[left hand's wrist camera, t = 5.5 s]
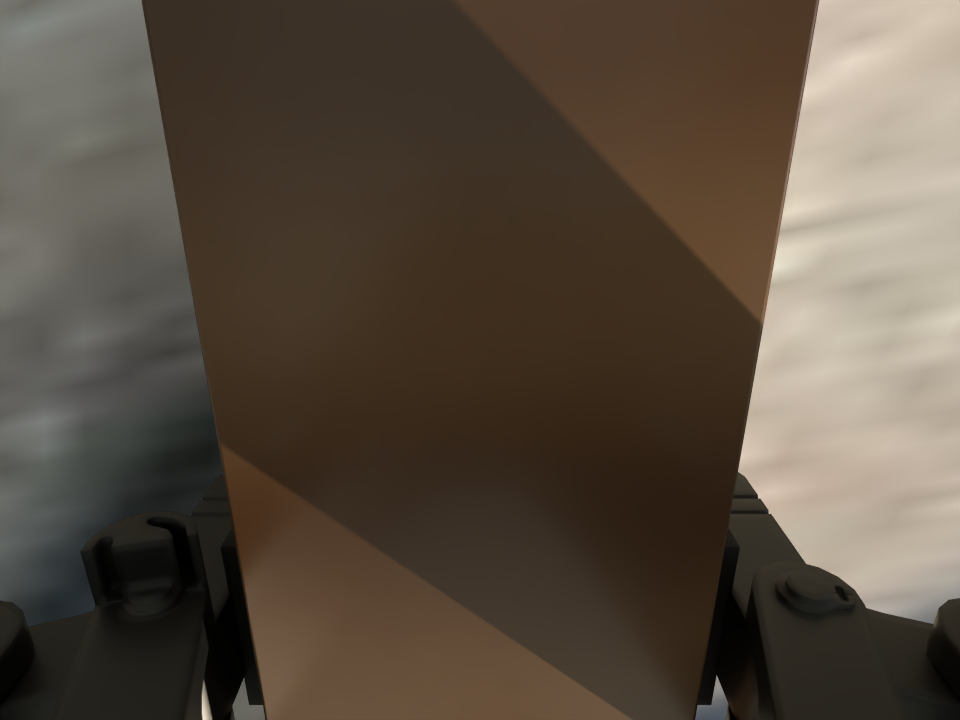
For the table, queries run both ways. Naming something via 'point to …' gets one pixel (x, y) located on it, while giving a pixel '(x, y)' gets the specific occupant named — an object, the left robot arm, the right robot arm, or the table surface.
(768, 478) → the table surface
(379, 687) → the bar
